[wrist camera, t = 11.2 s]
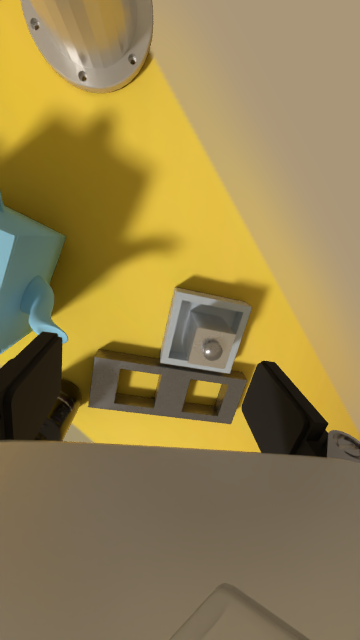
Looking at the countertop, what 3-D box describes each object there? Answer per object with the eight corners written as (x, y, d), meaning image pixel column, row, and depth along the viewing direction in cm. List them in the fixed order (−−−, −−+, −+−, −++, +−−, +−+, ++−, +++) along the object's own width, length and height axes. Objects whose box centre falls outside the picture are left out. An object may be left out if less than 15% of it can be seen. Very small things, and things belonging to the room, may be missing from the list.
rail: (92, 396, 39) (88, 407, 36) (98, 349, 36) (94, 356, 34) (226, 413, 42) (230, 424, 40) (241, 371, 40) (247, 380, 37)
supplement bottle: (86, 383, 38) (56, 445, 27) (77, 415, 40) (46, 486, 28) (42, 372, 36) (-9, 433, 25) (35, 406, 38) (-16, 477, 27)
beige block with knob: (190, 310, 35) (198, 330, 27) (221, 316, 35) (238, 337, 28) (182, 340, 36) (188, 366, 29) (212, 345, 37) (226, 372, 30)
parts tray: (175, 287, 34) (176, 291, 31) (244, 301, 36) (252, 307, 33) (160, 353, 37) (160, 362, 34) (224, 363, 39) (229, 373, 36)
